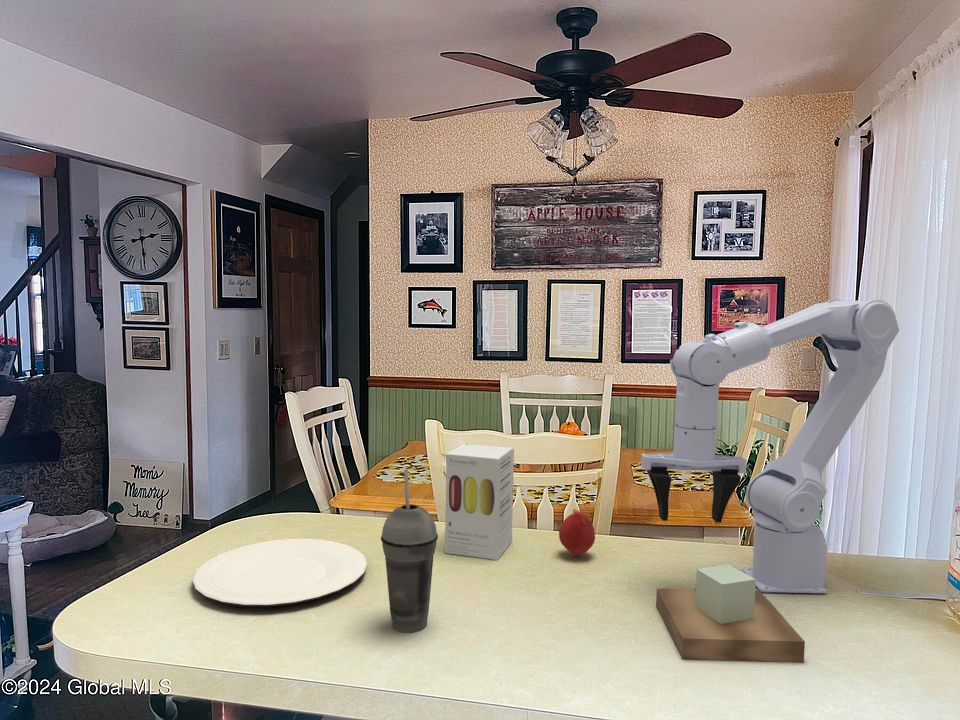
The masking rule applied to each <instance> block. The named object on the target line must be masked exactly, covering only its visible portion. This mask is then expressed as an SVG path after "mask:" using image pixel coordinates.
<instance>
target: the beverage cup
mask: <svg viewBox="0 0 960 720" xmlns="http://www.w3.org/2000/svg"><path fill="white" fill-rule="evenodd" d="M403 472H404V473H403V474H404V478H403V479H404V492H405V493H404V498H405V499H404V500H405V504H403V505H401V506H398V507H397V508H395V509H393V510H392V511H391V512H390V513H389V514H388V516H387V517H386V519H385V521H384V524H383V527H382V531H381V536H380V540H381V543H382V544H381V545H382V551H383V554H384V557H385V558H384V559H385V569H386V571H385V572H386V580H387V581H386V583H387V591H388V601H389V602H388V603H389V614H390V618H391V626H392V629H394V630H395V631H398V632H401V633H409V634H411V633H416V632H417V633H418V632H419V631H422V630H424V629H425V628H426V627H428V618H429V617H428V615H429V611H430V599H431V589H432V578H433V567H434V565H433V564H434V555H435V553H436V547H437V542H438V541H437V540H438V538H439V534H438V532H437V531H438V530H437V525H436V522H435V520H434V518H433V516H432V515H431V514H430V513H429V512H428V511H427V510H426V508H424V507H421V506H420V505H417V504H411V503H410V487H409V469H403Z"/></svg>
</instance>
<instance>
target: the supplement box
mask: <svg viewBox="0 0 960 720" xmlns="http://www.w3.org/2000/svg"><path fill="white" fill-rule="evenodd" d="M514 460H515V448H514V447H512V446H508V447H507V446H496V445H487V444H486V445H485V444H473V443H466V442H465V443H463V444H461V445H459V446H457V447H456V448H454V449H452V450H451V451H449V452H447V453H446V465H445V467H446V469H445V470H446V471H445V473H446V474H445V517H444V518H445V519H444V520H445V524H444V525H445V529H444V530H445V531H444V533H445V535H444V554H449V555H458V556H466V557H472V558H478V559H479V558H480V559H487V560H493V561H498V560H499V559H500V558H501V557H502V555H503V554H504V553H505V552H506V550H507V549H508V547H510V545H511V544H512V542H513V518H514V517H513V516H514V515H513V514H514V513H513V511H514V507H513V506H514V500H513V499H514V471H515V470H514V469H515V467H514V463H515V461H514Z"/></svg>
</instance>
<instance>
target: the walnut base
mask: <svg viewBox="0 0 960 720" xmlns="http://www.w3.org/2000/svg"><path fill="white" fill-rule="evenodd" d="M655 596H656V598H655V607H656V609H657V611H658V613H659V615H660V617H661V618H662V621H663V623H664V624H665V625H664V626H666V630H667V631H668V633H669V635H670V637H671V639H672V641H673V643H674V646H675V647H676V649H677V652H678V653H679V655H680V657H681V659H682V660H701V661H702V660H703V661H705V660H706V661H709V660H710V661H747V662H778V663H779V662H781V663H782V662H783V663H784V662H786V663H787V662H788V663H804V662H805V648H806V647H805V645H806V643H805V640H804V638H803V637H802V636H801V635H800V634H799V633H798V632H797V630H796V629H794V628H793V626H792V625H791V624H790V623H789V621H788V620H786V618H785V617H784V616H783V615H782V614H781V613H780V612H779V610H778V609H777V608H776V607H775V606H774V604H772V603H771V601H770V600H769V599H768V598H767V597H766V596H765V595H764V592H762V591H760V590H755V608H754V618H753V619H747V620H741V621H735V622H730V623H724V624H720V623H718V622H717V621H715V620H714V619H712V618H711V617H709V616H708V615H707V614H705V613H704V612H702V611H701V610H699V609H698V608H696V607H695V599H696V588H695V589H693V588H692V589H691V588H687V589H686V588H656V595H655Z"/></svg>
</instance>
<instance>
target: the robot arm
mask: <svg viewBox="0 0 960 720" xmlns="http://www.w3.org/2000/svg"><path fill="white" fill-rule="evenodd" d="M899 332H900V327H899V325H898V321H897V317H896V314H895V311H894V308H893V307H892V305H890V304H889V303H888V302H887V301H885V300H882V299H877V298H876V299H871V300H843V299H842V300H841V299H829V300H827V301H825V302H819V303H815V304H813V305H811V306H808V307H807V308H804V309H802V310H800V311H798V312H795V313H792V314H790V315H788V316H784V318H781V319H778V320H775V321H774V322H771V323H769V324H767V325H763V326H760V325H758V324H757V323H754V322H747V321H739V322H736V323H735V322H734V323H733V328H731V329H728V330H726V331H723V332H721V333H720V332H719V333H718V334H715V333H708V334H706V335H704V339H703V341H702V342H699V341H698V342H697V341H687V342H685V343H683V344H681V345H680V346H679V347H678V349H676V350H675V351H674V355H673V358H672V359H670V360H669V364H670V365H669V366H670V369H671V372H672V373H673V375H674V376H675V378H676V379H675V380H676V394H675V412H674V415H675V416H674V428H673V429H674V432H673V446H672V447H673V449H672V452H665V453H664V452H659V453H641V456H640V458H641V459H640V467H641V468H642V469H643V470H644V471H646V472H647V475H648V476H649V479H650V482H651V485H652V487H653V490H654V493H655V497H656V498H655V499H656V502H657V509H658V517H659V518H660V519H661V521H662V522H668V520H669V500H670V499H669V498H670V489H671V485H672V481H673V480H672V479H673V478H672V477H671V476H670V471H668V470H672V471H673V470H674V471H675V470H679V471H702V472H703V471H706V472H712V485H713V486H712V487H713V489H712V493H713V494H712V495H713V496H712V506H711V519H712V520H713V521H714V522H715V523H717V524H718V523H719V524H721V523H722V521H723V517H724V514H725V511H726V508H727V505H728V504H729V501H730V499H731V498H732V496H733V494H734V492H735V491H736V489H737V488H738V486H739V485H740V483H741V479H742V476H741V475H740V474H746V473H747V463H748V462H747V461H748V460H747V459H746V458H744V457H742V456H730V455H722V454H720V455H719V454H716V445H717V444H716V443H717V441H716V440H717V425H718V423H717V422H718V412H719V411H718V409H719V408H718V407H719V394H720V393H719V391H720V384H721V383H722V382H723V381H724V380H725V379H726V378H727V376H728V374H730V373H734V372H736V371H739V370H741V369H744V368H747V367H749V366H752V365H755V364H757V363H760V362H763V361H766V359H768V357H769V355H770V353H771V350H772V349H773V348H777V347H780V346H782V345H786V344H789V343H790V344H791V343H792V342H796V341H799V340H802V339H804V338H808V337H811V336H812V337H813V336H815V335H819V336H820V337H821V339H822V340H823V342H824V343H825V345H826V347H827V348H828V350H829V352H830V353H831V354H832V356H833V357H834V359H835V361H836V365H837V368H836V370H835V372H834V374H833V375H832V377H831V379H830V380H829V382H828V384H827V385H826V387H825V389H824V390H823V392H822V393H821V395H820V397H819V398H818V400H817V402H816V403H815V405H814V406H813V408H812V410H811V411H810V413H809V414H808V415H807V418H806V419H805V421H804V423H803V424H802V426H800V427H801V428H800V429H799V431H798V432H797V434H796V435H795V437H794V439H793V441H792V442H791V444H790V446H789V447H788V449H787V450H786V452H785V454H784V455H782V456H780V457H778V458H775V459H773V460H772V461H769V462H767V464H766V465H765V467H764V468H763V469H762V471H760V473H758V474H756V475H755V476H753V477H752V478H751V479H750V480H749V482H748V483H747V486H746V490H745V498H746V502H747V505H749V507H750V508H751V510H752V511H753V514H752V515H753V516H752V517H753V518H754V526H753V527H754V528H753V532H754V533H753V550H752V551H753V552H752V567H745V568H744V567H743V568H742V572H743V573H745V574H747V575H749V576H751V577H752V578H754V579H756V585H755V588H757V590H758V591H761V592H762V593H794V594H795V593H796V594H799V593H800V594H804V593H805V594H827V592H828V590H827V589H826V588H825V587H826V583H825V582H826V570H827V569H826V566H827V541H826V538H825V535H824V534H825V533H824V532H823V530H822V529H821V527H820V526H818V525H816V524H815V523H816V521H817V519H818V518H819V516H820V513H821V507H822V501H823V499H824V497H825V496H826V494H827V488H826V486H825V483H824V481H823V478H822V473H823V471H824V470H825V469H826V467H827V465H828V464H829V462H830V460H831V458H832V457H833V455H834V454H835V452H836V451H837V449H838V447H839V446H840V444H841V442H842V440H843V439H844V437H845V435H846V434H847V433H848V431H849V429H850V427H851V426H852V424H853V423H854V421H855V419H856V418H857V416H858V415H859V413H860V411H861V409H862V408H863V406H864V404H865V403H866V401H867V400H868V398H869V397H870V395H871V393H872V392H873V390H874V388H875V387H876V385H877V383H878V381H879V380H880V378H881V377H882V375H883V372H884V369H885V365H886V360H887V356H888V350H889V348H890V346H891V345H892V343H893V342H894V340H895V338H896V336H897V335H898V333H899Z"/></svg>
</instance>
